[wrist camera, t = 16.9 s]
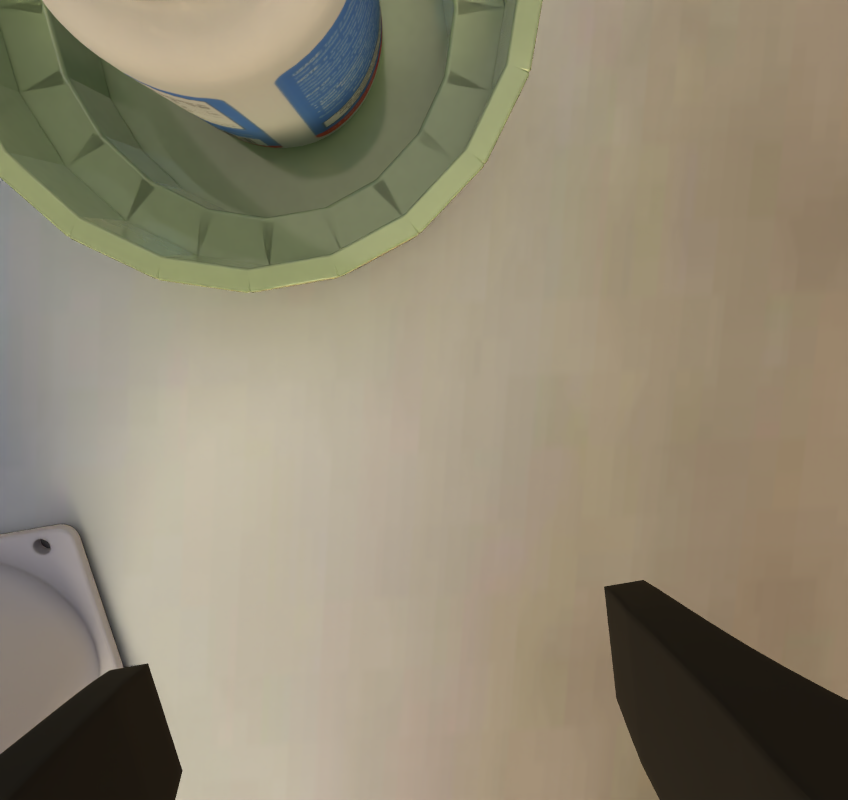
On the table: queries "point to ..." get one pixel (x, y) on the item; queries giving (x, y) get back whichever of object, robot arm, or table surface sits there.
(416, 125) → the green pet bowl
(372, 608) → the table surface
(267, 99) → the pill bottle
